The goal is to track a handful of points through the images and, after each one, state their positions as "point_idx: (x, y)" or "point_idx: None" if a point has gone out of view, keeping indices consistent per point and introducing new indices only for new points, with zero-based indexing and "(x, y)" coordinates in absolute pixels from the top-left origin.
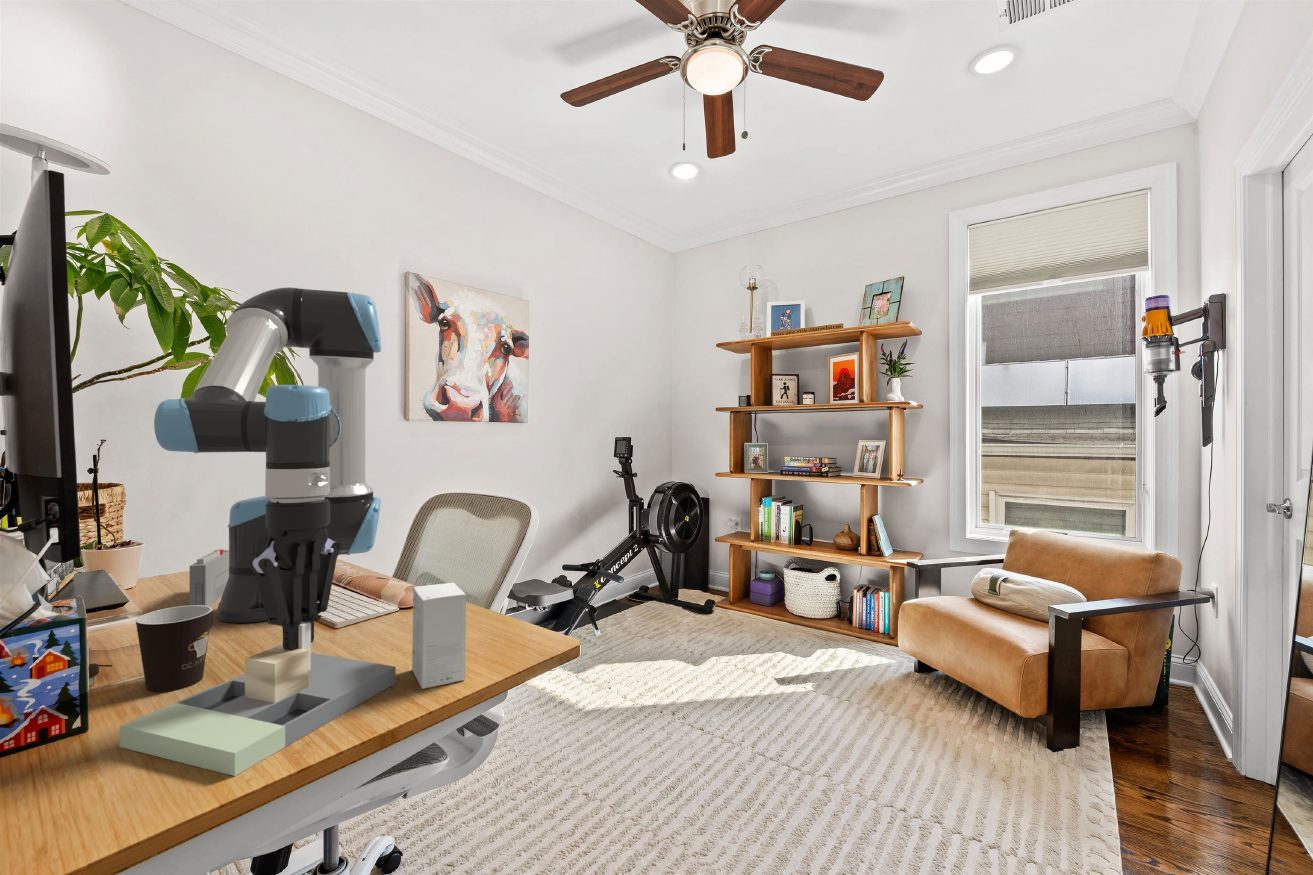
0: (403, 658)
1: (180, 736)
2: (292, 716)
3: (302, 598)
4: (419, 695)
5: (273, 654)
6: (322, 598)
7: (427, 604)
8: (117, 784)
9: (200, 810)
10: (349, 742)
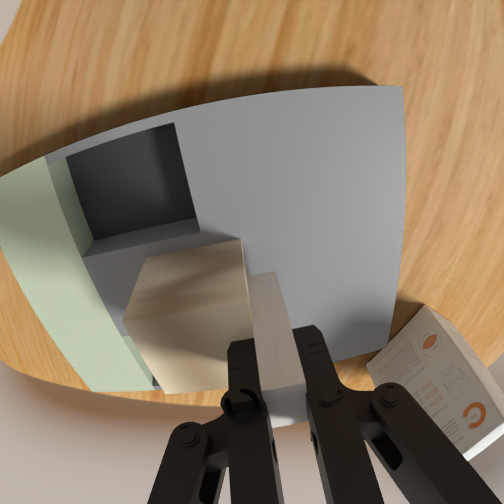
0: (462, 251)
1: (39, 310)
2: None
3: (325, 486)
4: (348, 373)
5: (190, 352)
6: (382, 464)
7: None
8: (4, 285)
9: (70, 384)
10: (215, 401)
